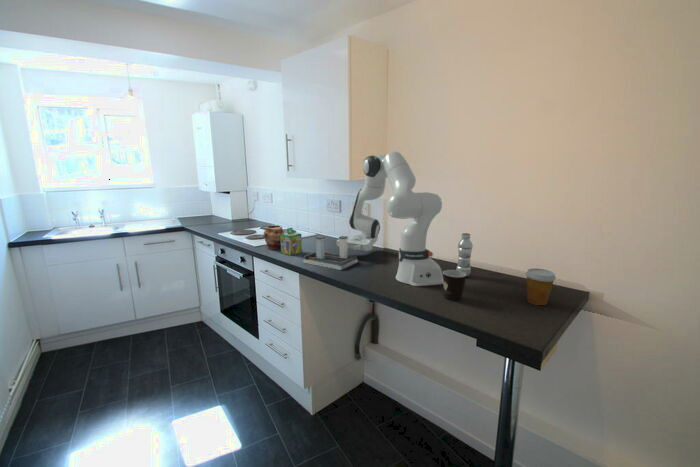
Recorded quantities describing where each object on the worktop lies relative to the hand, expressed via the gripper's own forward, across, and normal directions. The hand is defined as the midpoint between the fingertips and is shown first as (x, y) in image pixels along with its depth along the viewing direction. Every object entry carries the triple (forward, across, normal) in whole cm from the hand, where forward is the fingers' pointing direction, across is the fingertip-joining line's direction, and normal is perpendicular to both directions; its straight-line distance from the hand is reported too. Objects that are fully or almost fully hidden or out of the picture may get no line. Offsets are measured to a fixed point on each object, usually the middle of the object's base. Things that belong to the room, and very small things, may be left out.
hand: (346, 247), depth 169 cm
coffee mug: (+17, +61, +8) cm, 64 cm away
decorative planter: (-1, -55, +8) cm, 55 cm away
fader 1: (+10, -10, +6) cm, 15 cm away
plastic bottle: (-10, +59, +8) cm, 60 cm away
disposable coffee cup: (+6, +89, +8) cm, 90 cm away
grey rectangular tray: (+6, -6, +8) cm, 12 cm away
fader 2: (+3, 0, +6) cm, 6 cm away
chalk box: (+2, -37, +8) cm, 38 cm away
